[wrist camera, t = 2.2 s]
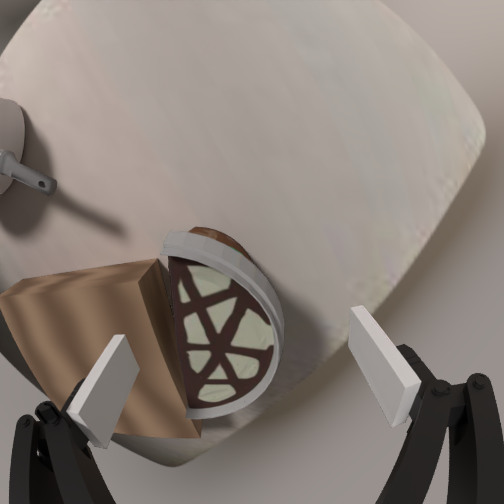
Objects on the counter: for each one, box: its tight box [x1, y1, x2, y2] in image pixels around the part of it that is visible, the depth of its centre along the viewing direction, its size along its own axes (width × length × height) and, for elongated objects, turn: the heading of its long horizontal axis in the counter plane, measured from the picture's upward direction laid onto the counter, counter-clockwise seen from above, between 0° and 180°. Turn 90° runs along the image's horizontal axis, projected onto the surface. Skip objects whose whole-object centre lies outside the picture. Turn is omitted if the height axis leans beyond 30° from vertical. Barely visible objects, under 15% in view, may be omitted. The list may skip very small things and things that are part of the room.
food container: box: [160, 227, 285, 419], centre depth 18 cm, size 12×6×10 cm, turn 179°
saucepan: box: [0, 98, 57, 196], centre depth 15 cm, size 12×20×6 cm, turn 66°
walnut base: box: [0, 258, 203, 438], centre depth 22 cm, size 18×18×5 cm
